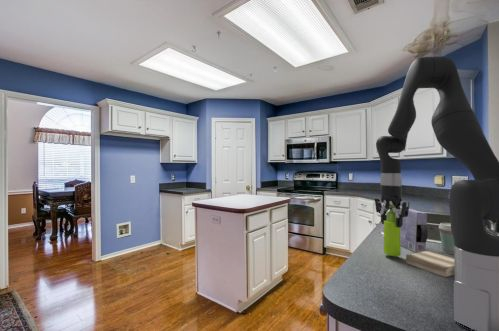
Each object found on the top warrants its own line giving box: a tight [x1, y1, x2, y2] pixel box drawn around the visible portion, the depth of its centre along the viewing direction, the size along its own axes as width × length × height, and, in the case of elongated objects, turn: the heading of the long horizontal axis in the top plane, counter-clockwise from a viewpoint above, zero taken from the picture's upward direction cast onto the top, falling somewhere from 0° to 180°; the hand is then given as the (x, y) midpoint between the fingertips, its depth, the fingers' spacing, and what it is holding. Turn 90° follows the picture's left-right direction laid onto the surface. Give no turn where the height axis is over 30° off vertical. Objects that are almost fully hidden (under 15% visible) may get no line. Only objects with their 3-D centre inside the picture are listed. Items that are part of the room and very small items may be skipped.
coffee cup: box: [438, 222, 454, 256], centre depth 103 cm, size 8×9×12 cm
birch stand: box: [405, 250, 454, 278], centre depth 88 cm, size 13×13×3 cm
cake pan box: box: [397, 205, 429, 254], centre depth 111 cm, size 19×5×18 cm, turn 0°
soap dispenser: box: [383, 205, 401, 257], centre depth 97 cm, size 6×7×20 cm
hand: (391, 225), depth 98 cm, fingers closed on soap dispenser, 6 cm apart
